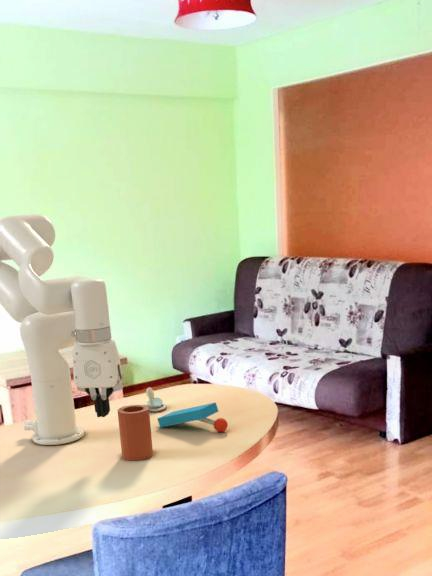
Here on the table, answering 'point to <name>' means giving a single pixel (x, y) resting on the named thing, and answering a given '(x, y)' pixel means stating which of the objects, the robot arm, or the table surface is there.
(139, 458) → the jar
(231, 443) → the table surface
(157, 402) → the pacifier
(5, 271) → the robot arm
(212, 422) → the lever
